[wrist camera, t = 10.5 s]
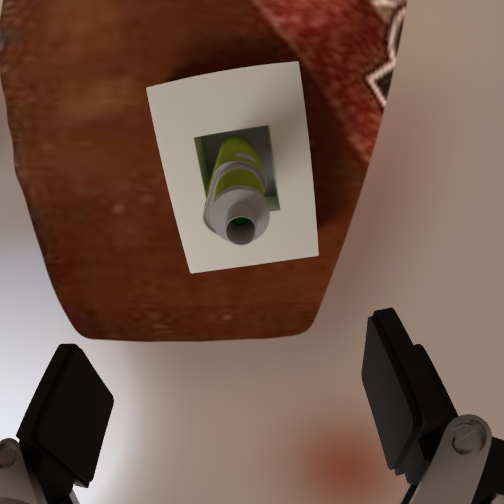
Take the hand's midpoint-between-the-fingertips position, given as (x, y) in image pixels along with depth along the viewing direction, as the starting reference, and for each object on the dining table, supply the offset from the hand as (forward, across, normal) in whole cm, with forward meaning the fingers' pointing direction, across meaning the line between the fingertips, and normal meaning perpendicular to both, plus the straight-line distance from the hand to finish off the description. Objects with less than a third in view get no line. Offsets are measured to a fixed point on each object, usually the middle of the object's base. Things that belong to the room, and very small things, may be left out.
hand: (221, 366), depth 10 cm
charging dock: (+29, 0, +1) cm, 29 cm away
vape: (+28, 0, 0) cm, 28 cm away
